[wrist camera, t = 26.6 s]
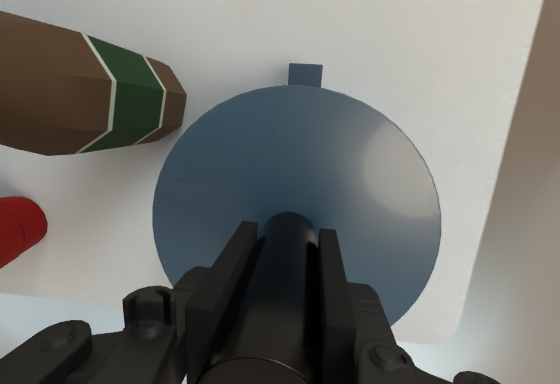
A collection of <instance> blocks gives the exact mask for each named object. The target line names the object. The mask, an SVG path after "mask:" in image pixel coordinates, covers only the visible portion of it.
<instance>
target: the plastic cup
mask: <svg viewBox="0 0 560 384" xmlns="http://www.w3.org/2000/svg"><path fill="white" fill-rule="evenodd" d="M46 232H47V221H46V218H45V214H44V213H43V211H42V210H41V209H40V207H39V206H38V205H37V204H35V203H34V202H33V201H31V200H30V199H27V198H24V197H2V198H0V269H1V268H2V267H4V266H5V265H7V264H8V263H10V262H11V261H12V260H14V259H15V258H17V257H18V256H19V255H20V254H21V253H23V252H24V251H26V250H27V249H29V248H30V247H32V246H33V245H35V244H36V243H38V242H39V241H40V240H41V239H42V238H43V237H44V235H45V234H46Z"/></svg>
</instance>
